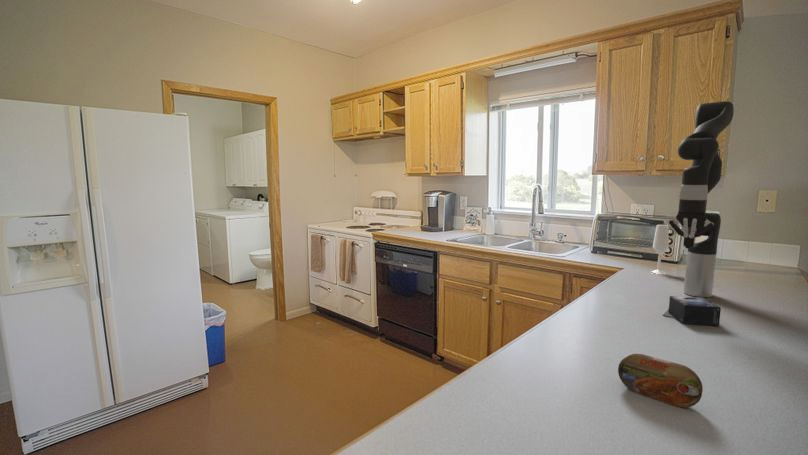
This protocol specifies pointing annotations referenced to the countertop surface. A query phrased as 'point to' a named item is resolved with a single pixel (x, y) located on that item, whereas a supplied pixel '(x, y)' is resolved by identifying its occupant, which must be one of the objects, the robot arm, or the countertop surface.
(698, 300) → the small box
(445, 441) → the countertop surface
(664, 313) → the mat
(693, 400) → the tin
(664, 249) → the champagne flute
